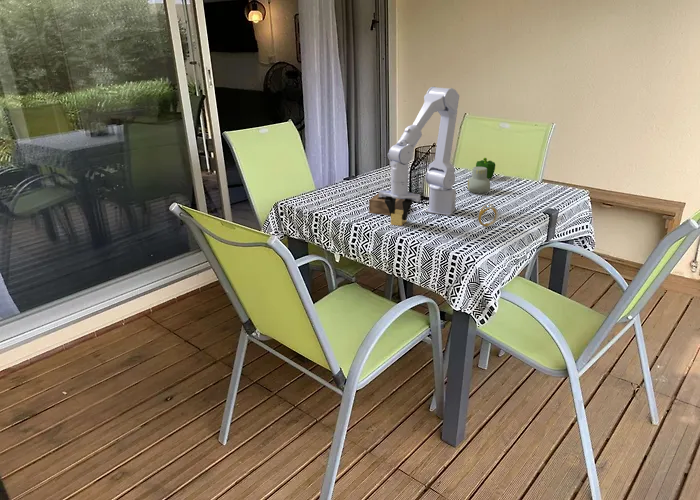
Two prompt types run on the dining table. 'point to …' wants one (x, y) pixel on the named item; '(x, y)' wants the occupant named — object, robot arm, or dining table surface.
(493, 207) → the bracelet
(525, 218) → the dining table surface
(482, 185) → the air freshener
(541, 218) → the dining table surface
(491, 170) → the bell pepper
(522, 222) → the dining table surface
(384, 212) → the wooden box
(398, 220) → the yellow cube
